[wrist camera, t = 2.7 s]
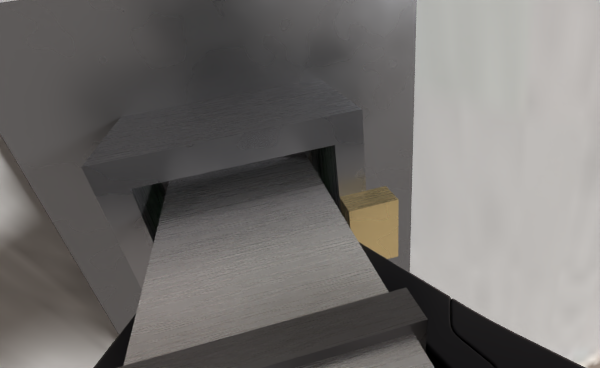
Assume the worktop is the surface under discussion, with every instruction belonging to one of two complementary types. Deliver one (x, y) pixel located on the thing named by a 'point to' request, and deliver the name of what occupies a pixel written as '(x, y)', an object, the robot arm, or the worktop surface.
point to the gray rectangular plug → (267, 280)
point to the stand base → (203, 113)
